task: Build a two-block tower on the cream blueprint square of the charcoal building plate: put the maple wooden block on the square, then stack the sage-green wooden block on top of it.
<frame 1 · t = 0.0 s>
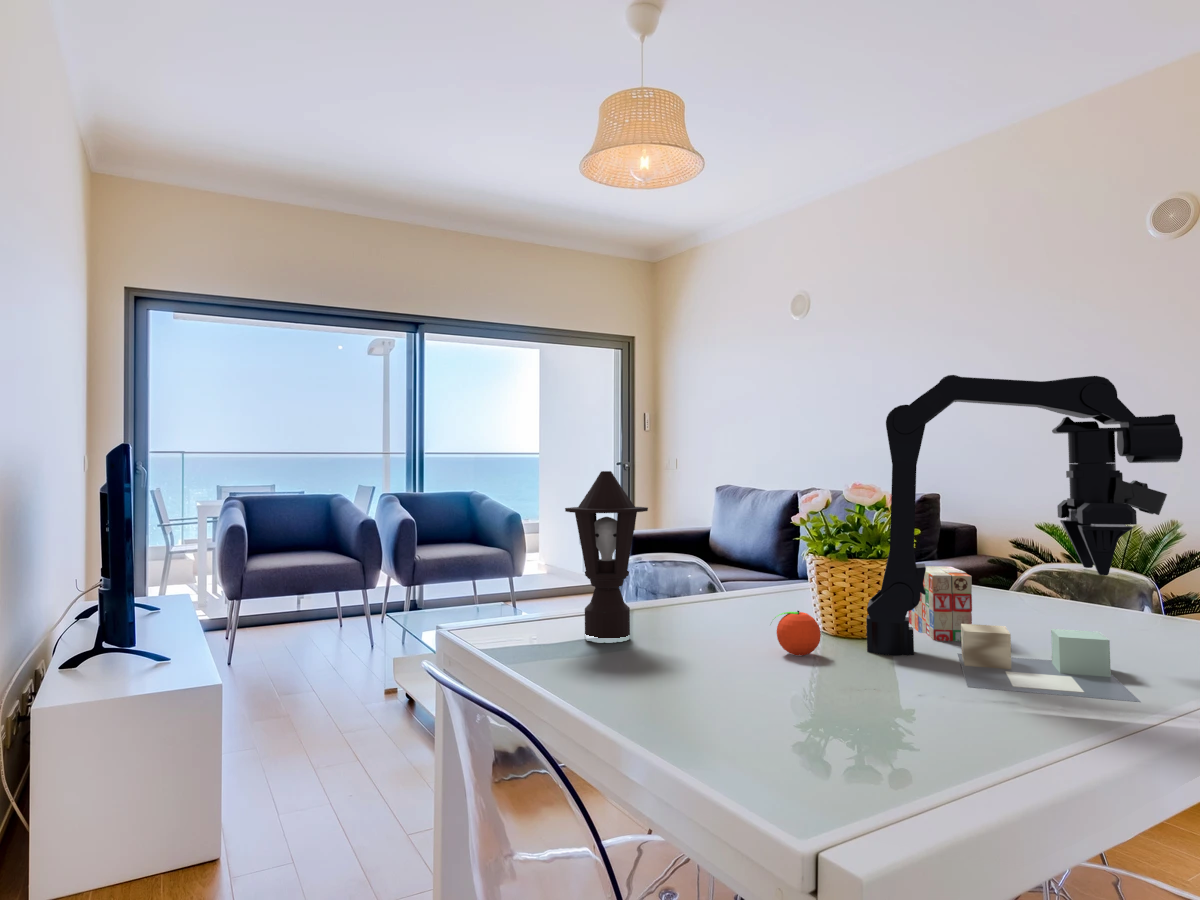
hand: (1095, 571, 109), 15 cm above the table, tool pointing down, fingers open, 9 cm apart
clementine: (795, 656, 121), on the table
maple block: (985, 662, 111), point 1 cm above the table, touching building plate
lantern: (607, 639, 134), on the table
building plate: (1038, 681, 104), on the table
stack of blocks: (938, 636, 136), on the table
sage block: (1080, 669, 106), point 1 cm above the table, touching building plate
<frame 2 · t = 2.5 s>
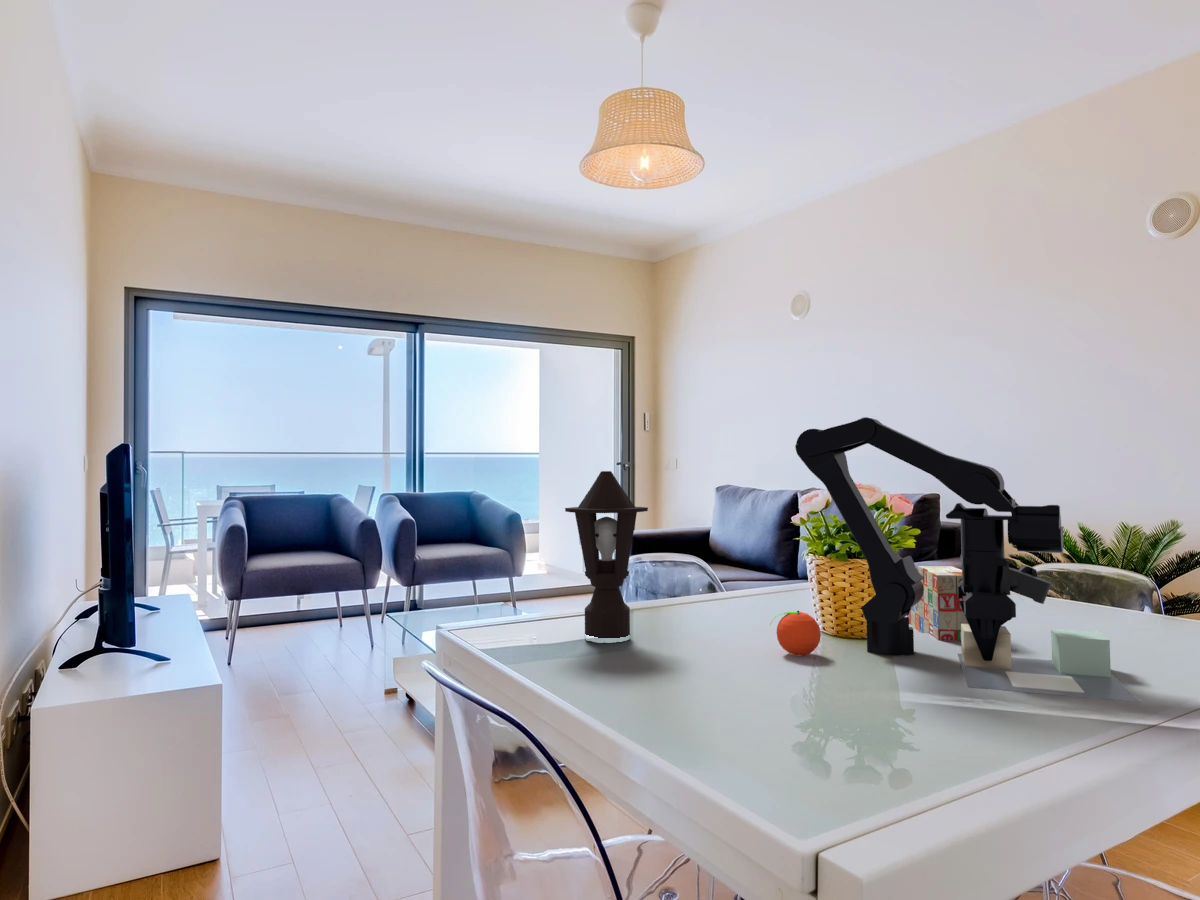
hand: (985, 655, 111), 2 cm above the table, tool pointing down, fingers closed on maple block, 6 cm apart
maple block: (985, 662, 111), point 1 cm above the table, touching building plate, gripper
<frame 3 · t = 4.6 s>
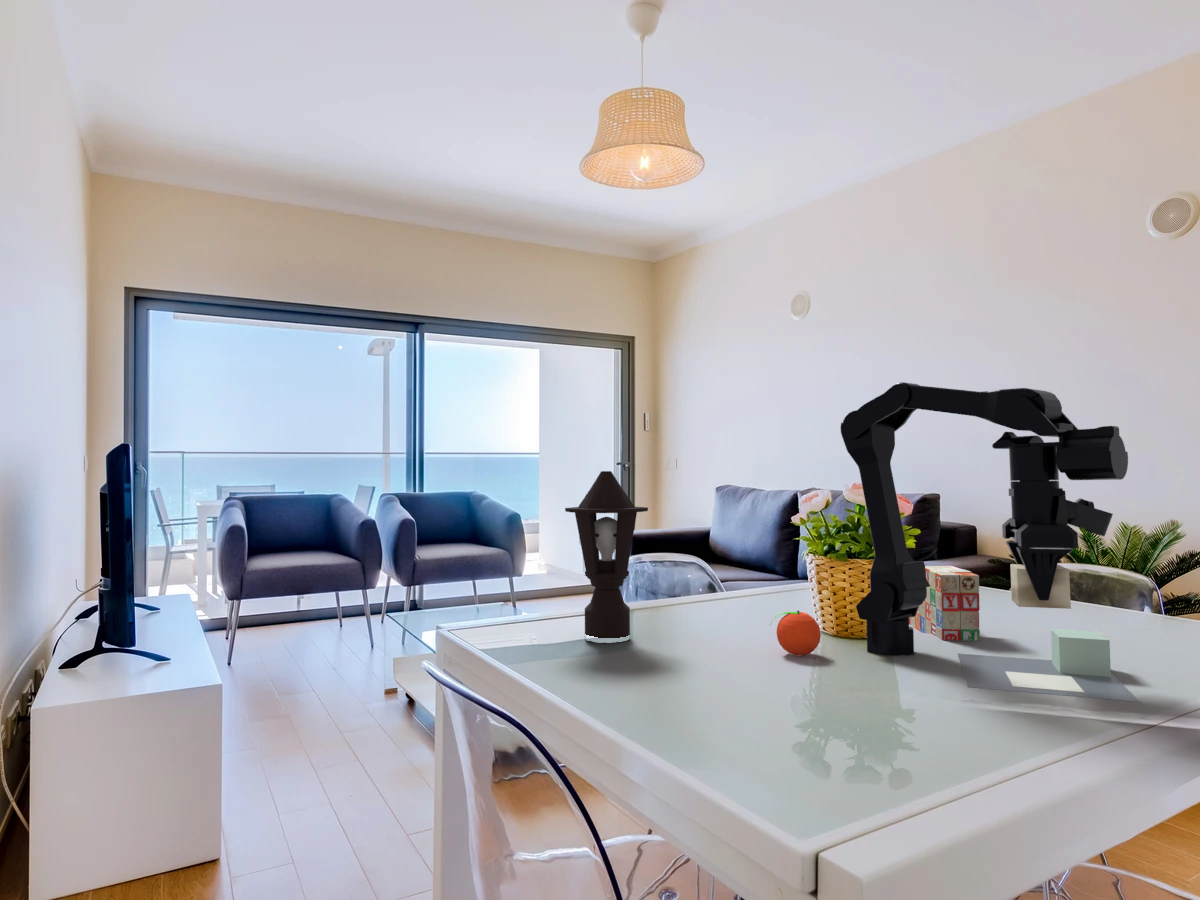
hand: (1039, 596, 101), 12 cm above the table, tool pointing down, fingers closed on maple block, 6 cm apart
maple block: (1040, 604, 101), point 11 cm above the table, touching gripper
when the fingers open (3 cm above the table, at t = 6.8 s): maple block drops 1 cm, resting on building plate.
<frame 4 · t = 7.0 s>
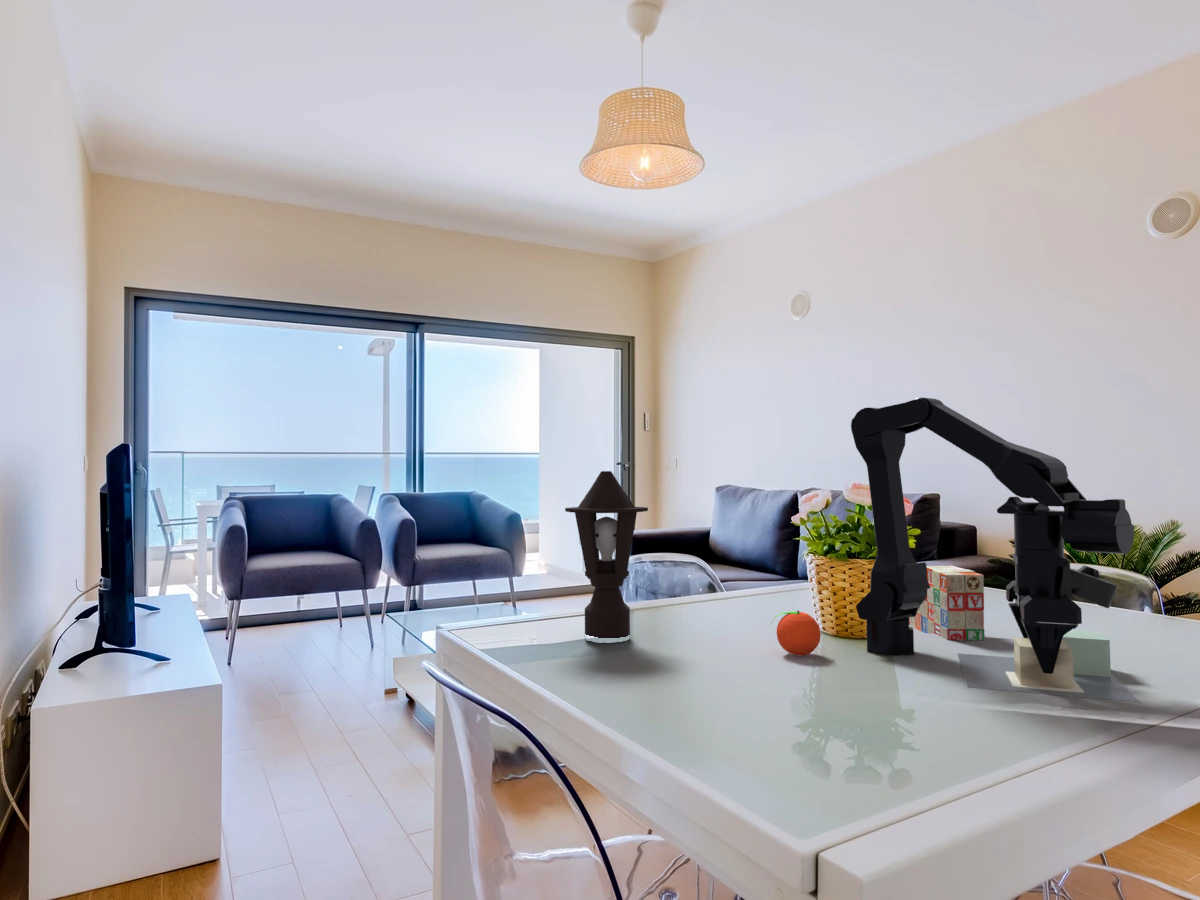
hand: (1042, 665, 101), 3 cm above the table, tool pointing down, fingers open, 8 cm apart
maple block: (1043, 681, 100), point 1 cm above the table, touching building plate
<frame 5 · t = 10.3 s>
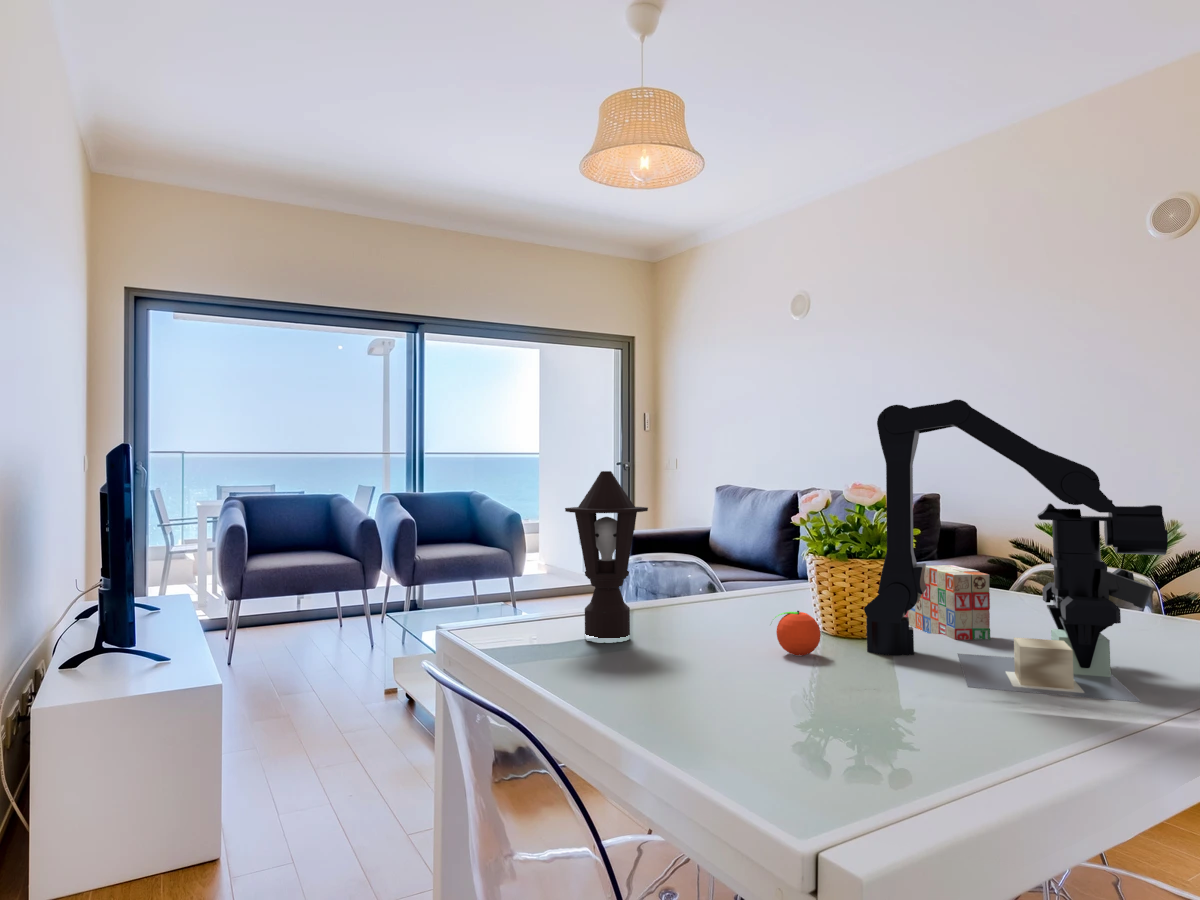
hand: (1080, 662, 107), 2 cm above the table, tool pointing down, fingers closed on sage block, 6 cm apart
sage block: (1080, 669, 106), point 1 cm above the table, touching building plate, gripper
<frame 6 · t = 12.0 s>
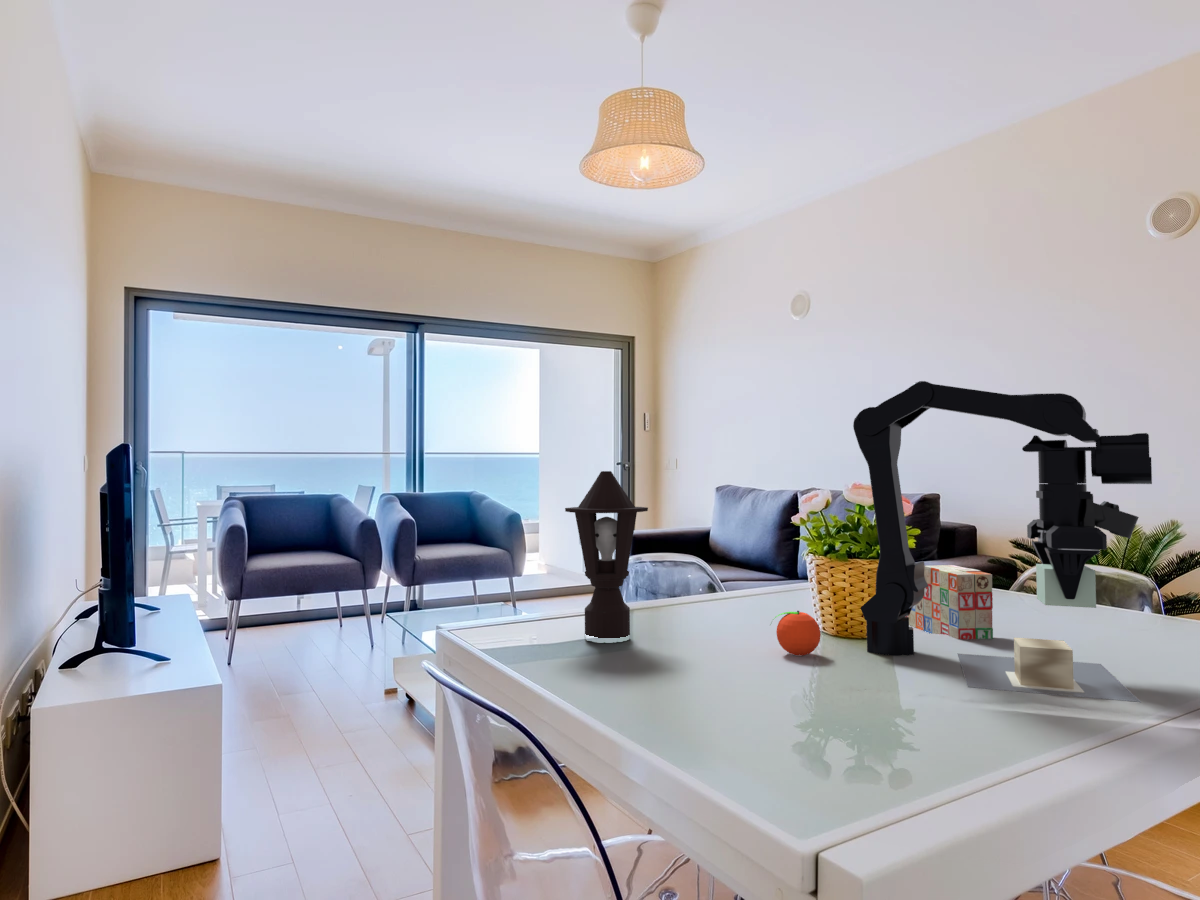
hand: (1064, 595, 105), 12 cm above the table, tool pointing down, fingers closed on sage block, 6 cm apart
sage block: (1065, 602, 105), point 11 cm above the table, touching gripper
when the fingers open (8 cm above the table, at t = 13.7 s): sage block drops 1 cm, resting on maple block.
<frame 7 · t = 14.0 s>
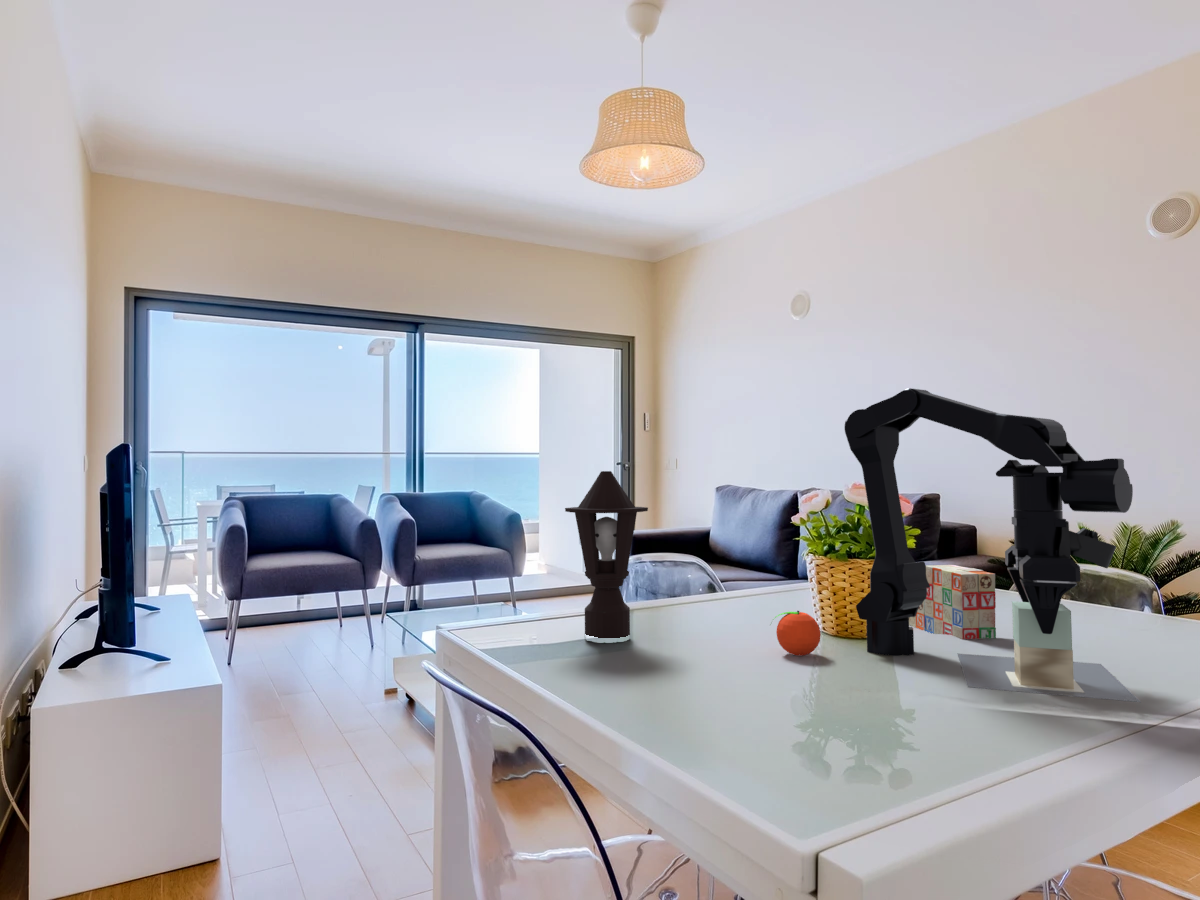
hand: (1041, 627, 101), 8 cm above the table, tool pointing down, fingers open, 9 cm apart
maple block: (1043, 681, 100), point 1 cm above the table, touching building plate, sage block
sage block: (1041, 643, 101), point 6 cm above the table, touching maple block
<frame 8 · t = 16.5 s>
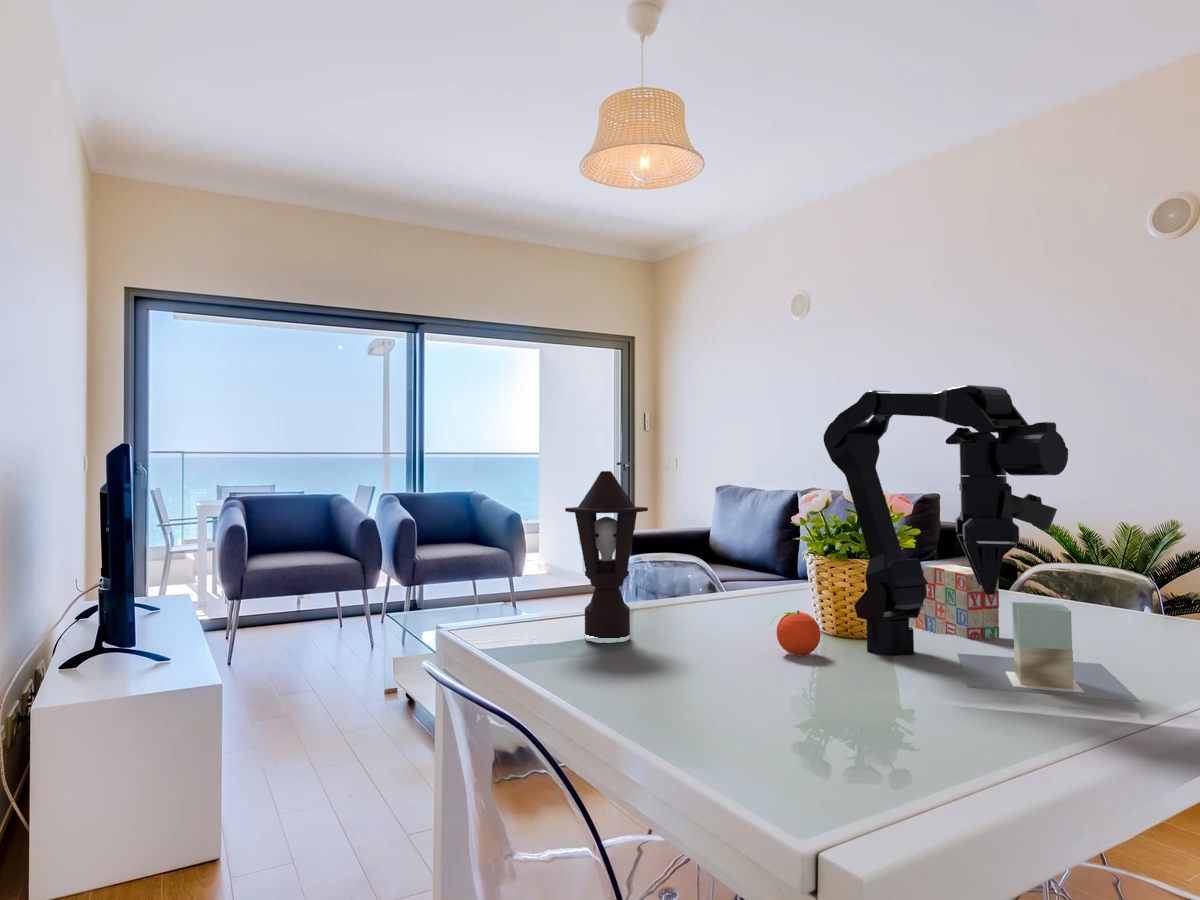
hand: (986, 589, 103), 13 cm above the table, tool pointing down, fingers open, 9 cm apart
at the end: maple block 0.0 cm from the target spot on the building plate, point 1.1 cm above the building plate's base; sage block 0.1 cm off-centre on the maple block, point 5.0 cm above the maple block's base; sage block tilted 0° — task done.
